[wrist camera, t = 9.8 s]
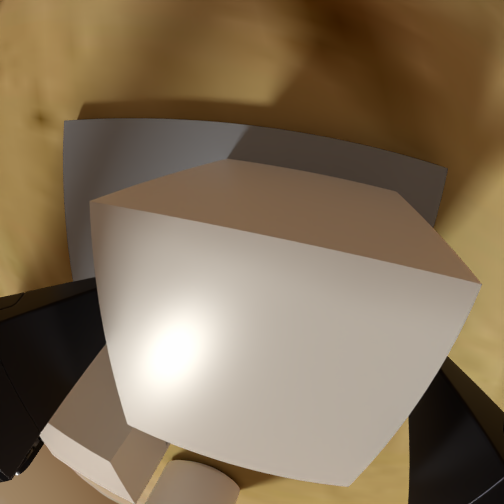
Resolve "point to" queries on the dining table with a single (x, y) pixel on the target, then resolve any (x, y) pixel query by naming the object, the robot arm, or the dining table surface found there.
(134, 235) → the block
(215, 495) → the beverage can
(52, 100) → the dining table surface
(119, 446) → the empty cover
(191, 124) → the board
